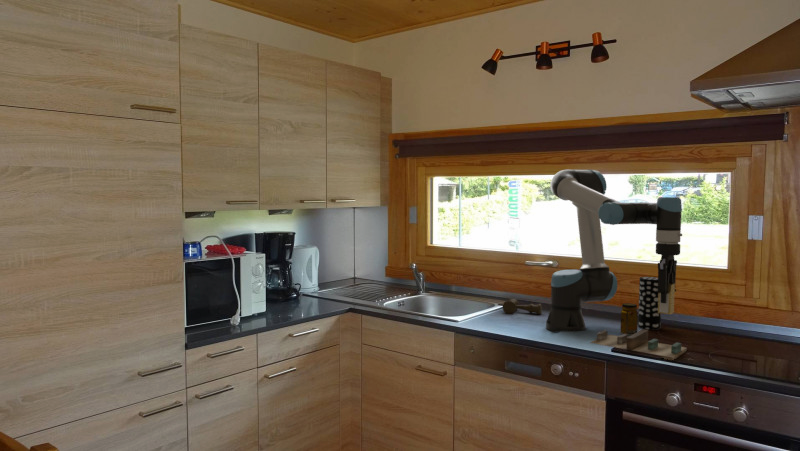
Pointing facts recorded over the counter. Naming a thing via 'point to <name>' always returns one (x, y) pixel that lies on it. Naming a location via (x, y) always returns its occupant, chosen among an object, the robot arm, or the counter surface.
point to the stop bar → (671, 299)
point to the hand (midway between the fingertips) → (666, 311)
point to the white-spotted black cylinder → (649, 304)
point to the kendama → (520, 307)
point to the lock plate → (642, 348)
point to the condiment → (629, 318)
